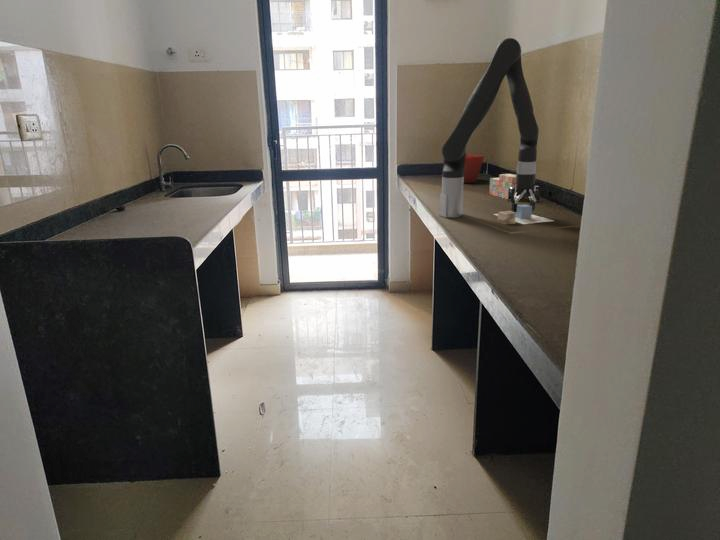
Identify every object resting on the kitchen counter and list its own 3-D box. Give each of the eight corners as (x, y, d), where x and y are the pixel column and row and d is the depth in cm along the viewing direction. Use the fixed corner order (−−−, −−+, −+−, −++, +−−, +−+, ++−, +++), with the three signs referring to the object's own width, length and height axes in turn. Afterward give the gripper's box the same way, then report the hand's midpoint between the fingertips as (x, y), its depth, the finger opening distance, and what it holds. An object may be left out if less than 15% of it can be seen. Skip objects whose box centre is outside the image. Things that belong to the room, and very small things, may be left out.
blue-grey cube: (520, 218, 203) (521, 207, 202) (514, 216, 208) (514, 205, 206) (531, 218, 204) (532, 206, 203) (524, 215, 209) (525, 204, 208)
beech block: (504, 226, 194) (505, 213, 193) (497, 223, 199) (498, 211, 198) (515, 225, 196) (516, 212, 194) (507, 222, 200) (508, 210, 199)
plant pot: (441, 181, 324) (442, 155, 319) (465, 179, 332) (466, 154, 327) (459, 184, 308) (460, 157, 303) (483, 182, 315) (484, 155, 310)
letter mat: (523, 225, 194) (523, 224, 194) (492, 215, 214) (492, 214, 214) (554, 222, 198) (554, 220, 198) (521, 212, 218) (521, 211, 218)
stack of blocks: (488, 195, 268) (490, 172, 264) (498, 194, 270) (500, 171, 266) (510, 201, 248) (512, 176, 245) (521, 200, 250) (523, 176, 246)
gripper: (516, 174, 195) (513, 214, 200) (546, 172, 199) (543, 211, 204) (505, 172, 202) (503, 211, 207) (534, 170, 206) (531, 208, 211)
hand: (523, 211), depth 205 cm, fingers open, 8 cm apart
